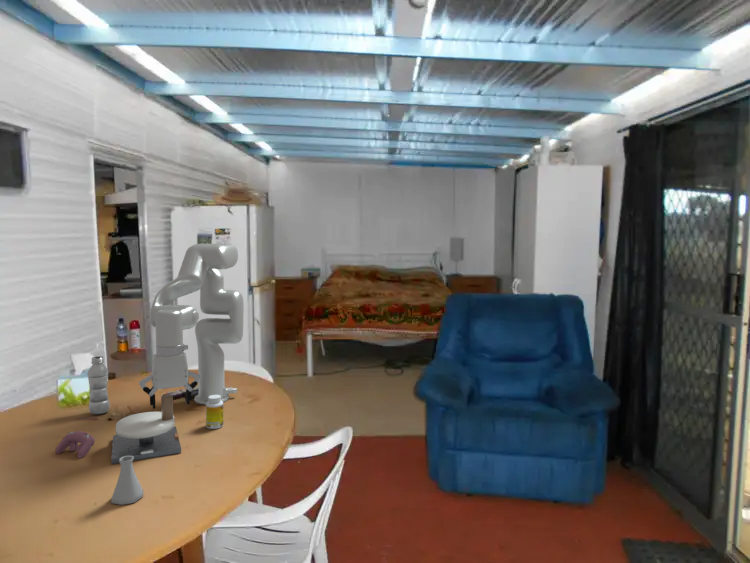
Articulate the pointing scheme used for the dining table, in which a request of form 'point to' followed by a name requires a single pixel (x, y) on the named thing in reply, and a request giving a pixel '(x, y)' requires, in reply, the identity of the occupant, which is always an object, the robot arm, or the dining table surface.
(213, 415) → the supplement bottle
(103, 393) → the plastic bottle
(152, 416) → the white piece
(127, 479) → the flask
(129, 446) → the mount
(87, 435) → the video game controller
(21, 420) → the dining table surface
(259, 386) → the dining table surface
